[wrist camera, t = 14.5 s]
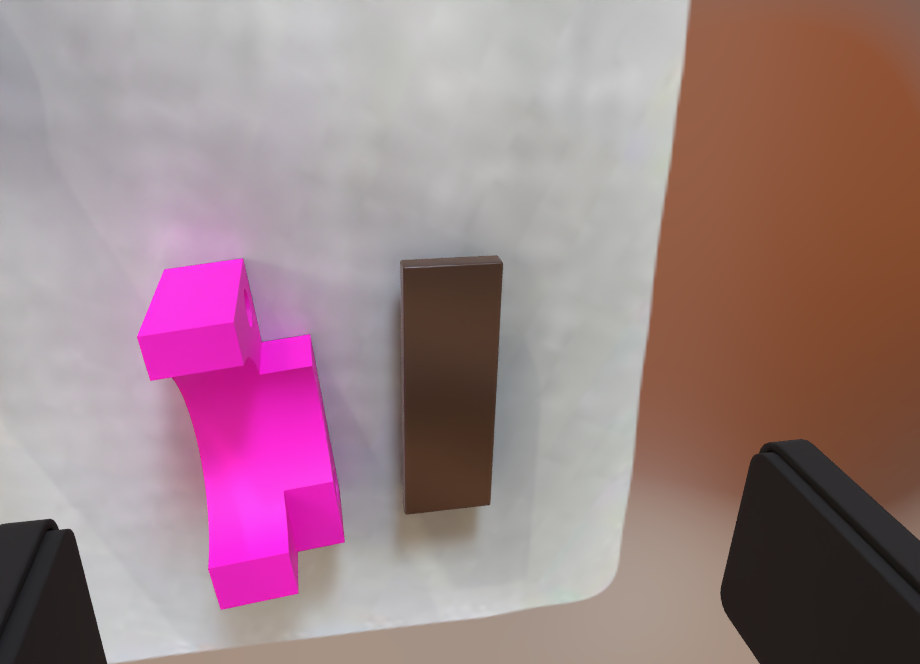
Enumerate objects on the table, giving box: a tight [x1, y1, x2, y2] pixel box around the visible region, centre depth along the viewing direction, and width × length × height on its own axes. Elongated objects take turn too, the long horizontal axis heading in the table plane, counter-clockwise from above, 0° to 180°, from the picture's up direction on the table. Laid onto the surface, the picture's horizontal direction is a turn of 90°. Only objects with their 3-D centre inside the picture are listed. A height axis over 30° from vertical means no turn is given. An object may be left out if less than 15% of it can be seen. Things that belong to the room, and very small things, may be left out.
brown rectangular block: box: [400, 256, 503, 514], centre depth 41 cm, size 15×5×3 cm, turn 179°
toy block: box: [137, 258, 345, 610], centre depth 37 cm, size 15×6×8 cm, turn 5°
